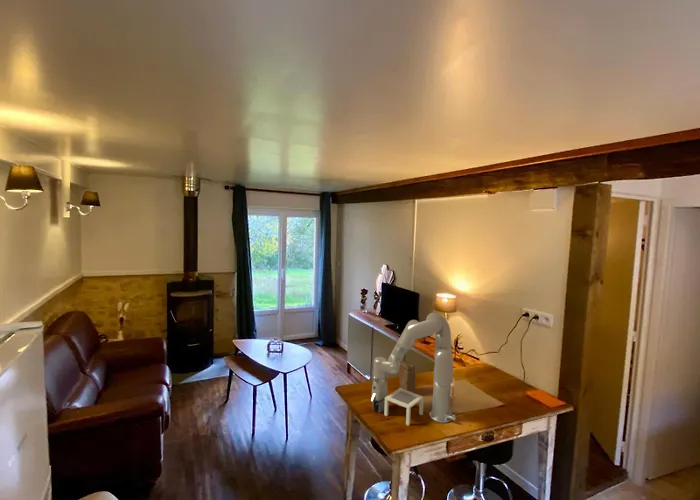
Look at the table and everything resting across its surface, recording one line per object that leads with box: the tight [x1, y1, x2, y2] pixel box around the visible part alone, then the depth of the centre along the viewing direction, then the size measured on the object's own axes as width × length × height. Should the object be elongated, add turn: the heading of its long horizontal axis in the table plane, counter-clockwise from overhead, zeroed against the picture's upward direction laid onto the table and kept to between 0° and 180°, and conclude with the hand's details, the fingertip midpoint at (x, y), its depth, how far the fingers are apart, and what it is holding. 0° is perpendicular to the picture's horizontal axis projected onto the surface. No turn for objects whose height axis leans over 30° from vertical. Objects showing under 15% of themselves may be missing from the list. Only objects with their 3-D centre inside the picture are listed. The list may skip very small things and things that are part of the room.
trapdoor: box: [392, 392, 417, 404], centre depth 213 cm, size 10×10×1 cm
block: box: [398, 361, 416, 393], centre depth 239 cm, size 11×8×20 cm
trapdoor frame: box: [383, 387, 425, 426], centre depth 213 cm, size 16×16×10 cm
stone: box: [375, 399, 385, 413], centre depth 218 cm, size 5×5×6 cm
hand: (378, 408), depth 219 cm, fingers closed on stone, 5 cm apart
